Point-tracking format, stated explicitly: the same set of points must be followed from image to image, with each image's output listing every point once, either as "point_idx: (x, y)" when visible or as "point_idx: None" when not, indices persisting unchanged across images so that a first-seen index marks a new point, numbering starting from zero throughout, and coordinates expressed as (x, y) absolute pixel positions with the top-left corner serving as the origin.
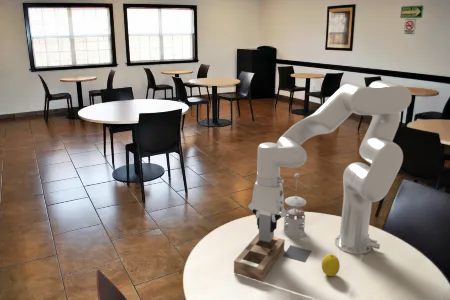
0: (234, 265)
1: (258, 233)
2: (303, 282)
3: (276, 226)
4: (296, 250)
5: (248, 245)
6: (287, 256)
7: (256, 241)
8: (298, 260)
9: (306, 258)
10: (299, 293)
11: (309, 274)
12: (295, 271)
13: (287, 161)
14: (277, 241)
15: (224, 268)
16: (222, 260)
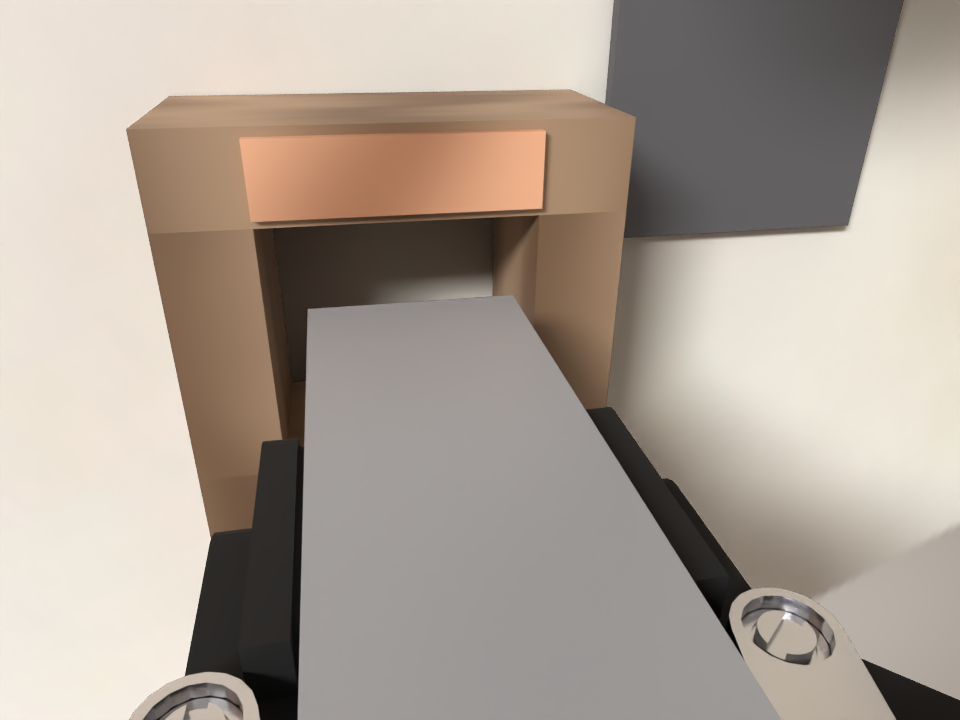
0: None
1: (135, 151)
2: (836, 475)
3: (679, 499)
4: (730, 22)
5: (219, 525)
6: (649, 216)
7: (259, 391)
8: (777, 226)
9: (858, 141)
10: (815, 583)
11: (880, 360)
12: (760, 386)
13: None
14: (547, 229)
15: (155, 676)
16: (40, 611)
